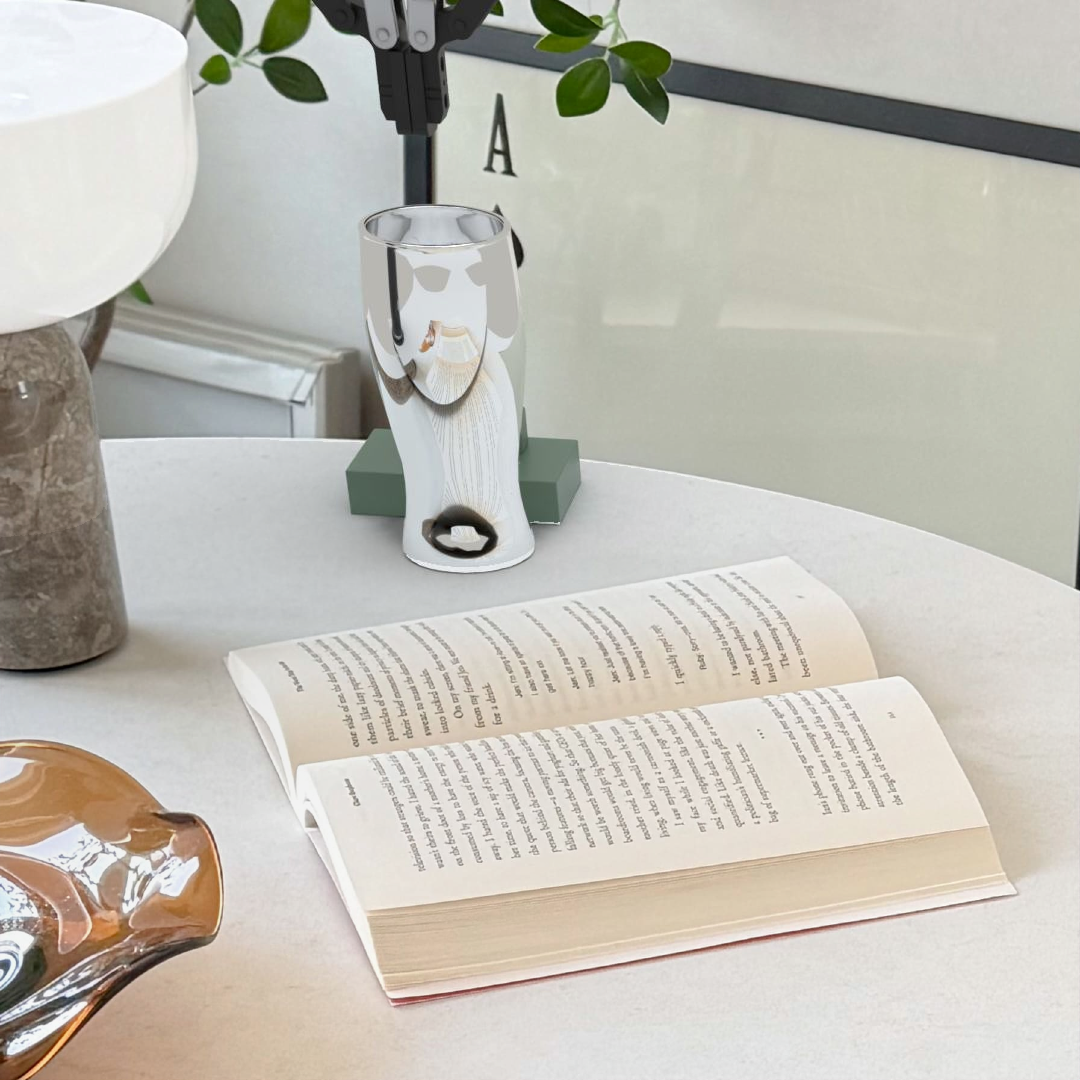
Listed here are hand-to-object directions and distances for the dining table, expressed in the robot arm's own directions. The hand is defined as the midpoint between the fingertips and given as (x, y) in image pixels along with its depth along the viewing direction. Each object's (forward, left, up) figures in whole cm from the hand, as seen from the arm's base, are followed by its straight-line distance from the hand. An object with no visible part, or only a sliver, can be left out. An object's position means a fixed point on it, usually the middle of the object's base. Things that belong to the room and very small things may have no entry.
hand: (418, 131), depth 129 cm
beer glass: (+2, -8, -17) cm, 19 cm away
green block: (+1, -2, -17) cm, 17 cm away
